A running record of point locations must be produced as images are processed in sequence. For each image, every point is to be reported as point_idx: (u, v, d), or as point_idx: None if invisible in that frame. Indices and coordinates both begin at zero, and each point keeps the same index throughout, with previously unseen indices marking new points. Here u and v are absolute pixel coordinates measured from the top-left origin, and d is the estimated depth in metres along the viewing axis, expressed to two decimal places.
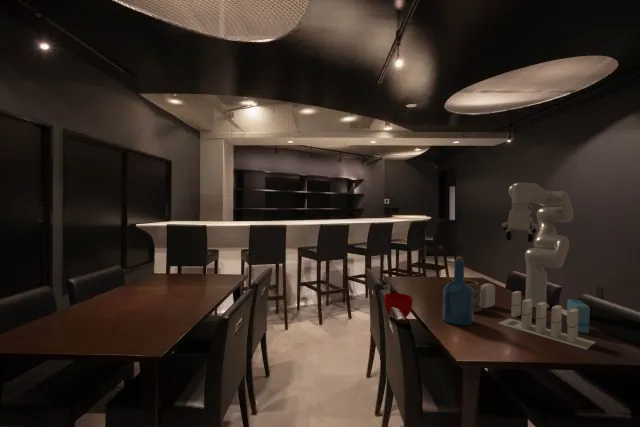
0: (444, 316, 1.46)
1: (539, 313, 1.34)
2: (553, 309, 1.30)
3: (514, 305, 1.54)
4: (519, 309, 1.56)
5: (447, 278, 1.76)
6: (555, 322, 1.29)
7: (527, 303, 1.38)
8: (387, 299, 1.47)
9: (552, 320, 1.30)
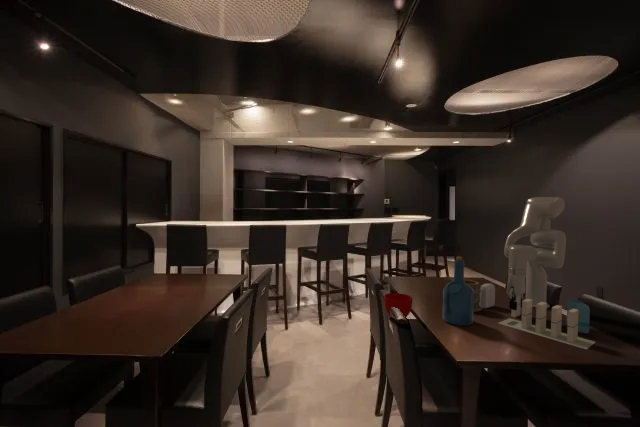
0: (444, 316, 1.46)
1: (539, 313, 1.34)
2: (553, 309, 1.30)
3: None
4: (519, 309, 1.56)
5: (447, 278, 1.76)
6: (555, 322, 1.29)
7: (527, 303, 1.38)
8: (387, 299, 1.47)
9: (552, 320, 1.30)
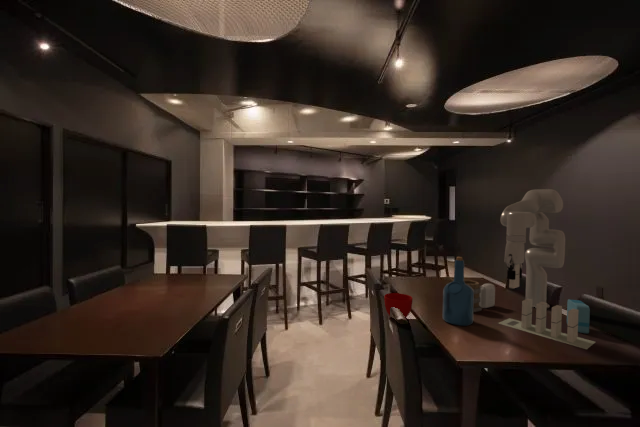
0: (444, 316, 1.46)
1: (539, 313, 1.34)
2: (553, 309, 1.30)
3: None
4: (517, 279, 1.45)
5: (447, 278, 1.76)
6: (555, 322, 1.29)
7: (527, 303, 1.38)
8: (387, 299, 1.47)
9: (552, 320, 1.30)
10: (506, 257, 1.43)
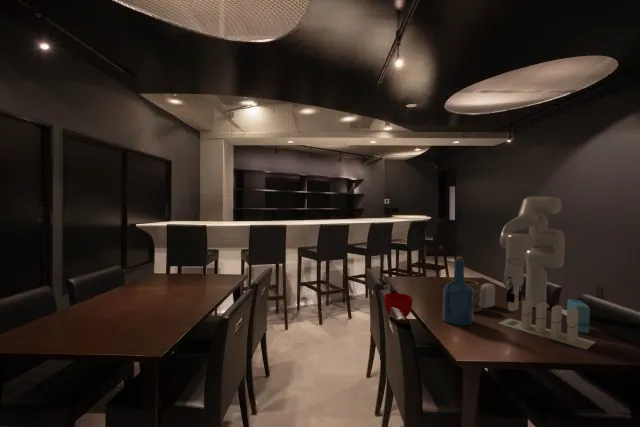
0: (444, 316, 1.46)
1: (539, 313, 1.34)
2: (553, 309, 1.30)
3: None
4: (516, 301, 1.45)
5: (447, 278, 1.76)
6: (555, 322, 1.29)
7: (527, 303, 1.38)
8: (387, 299, 1.47)
9: (552, 320, 1.30)
10: (505, 280, 1.43)
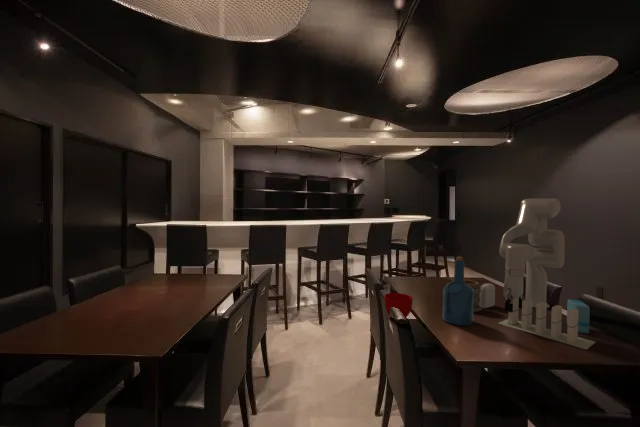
0: (444, 316, 1.46)
1: (539, 313, 1.34)
2: (553, 309, 1.30)
3: None
4: (516, 315, 1.45)
5: (447, 278, 1.76)
6: (555, 322, 1.29)
7: (527, 303, 1.38)
8: (387, 299, 1.47)
9: (552, 320, 1.30)
10: (505, 291, 1.43)
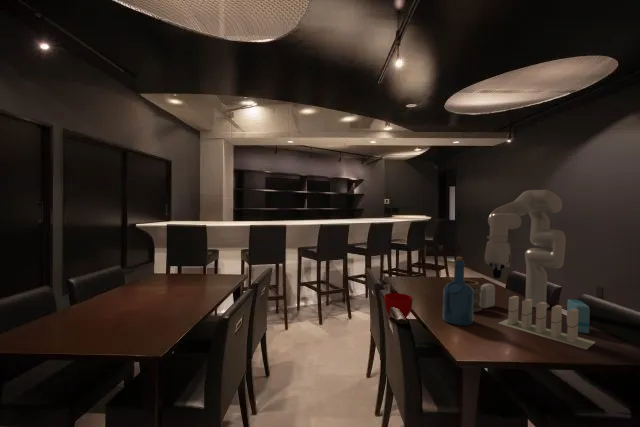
0: (444, 316, 1.46)
1: (539, 313, 1.34)
2: (553, 309, 1.30)
3: (511, 311, 1.43)
4: (516, 315, 1.45)
5: (447, 278, 1.76)
6: (555, 322, 1.29)
7: (527, 303, 1.38)
8: (387, 299, 1.47)
9: (552, 320, 1.30)
10: (507, 258, 1.45)
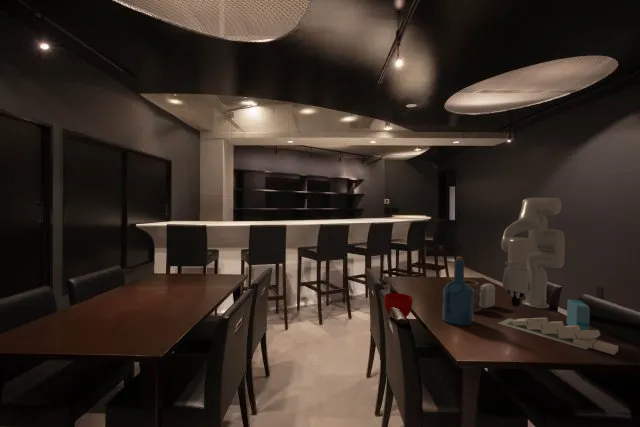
0: (444, 316, 1.46)
1: (564, 332, 1.27)
2: (592, 335, 1.20)
3: (527, 324, 1.37)
4: None
5: (447, 278, 1.76)
6: (576, 337, 1.24)
7: None
8: (387, 299, 1.47)
9: (577, 334, 1.23)
10: (527, 286, 1.39)
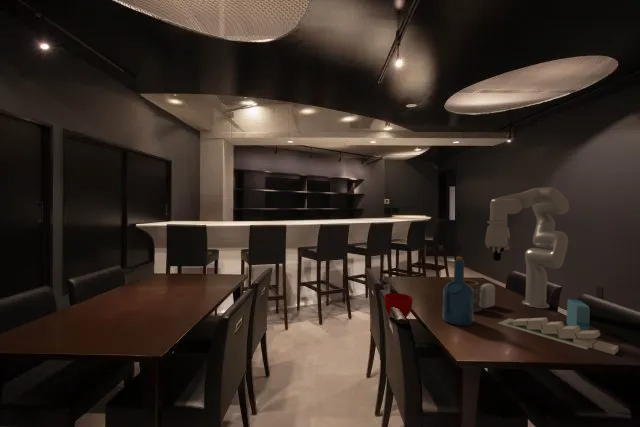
0: (444, 316, 1.46)
1: (564, 332, 1.27)
2: (592, 335, 1.20)
3: (527, 324, 1.37)
4: None
5: (447, 278, 1.76)
6: (576, 337, 1.24)
7: None
8: (387, 299, 1.47)
9: (577, 334, 1.23)
10: (507, 241, 1.52)
